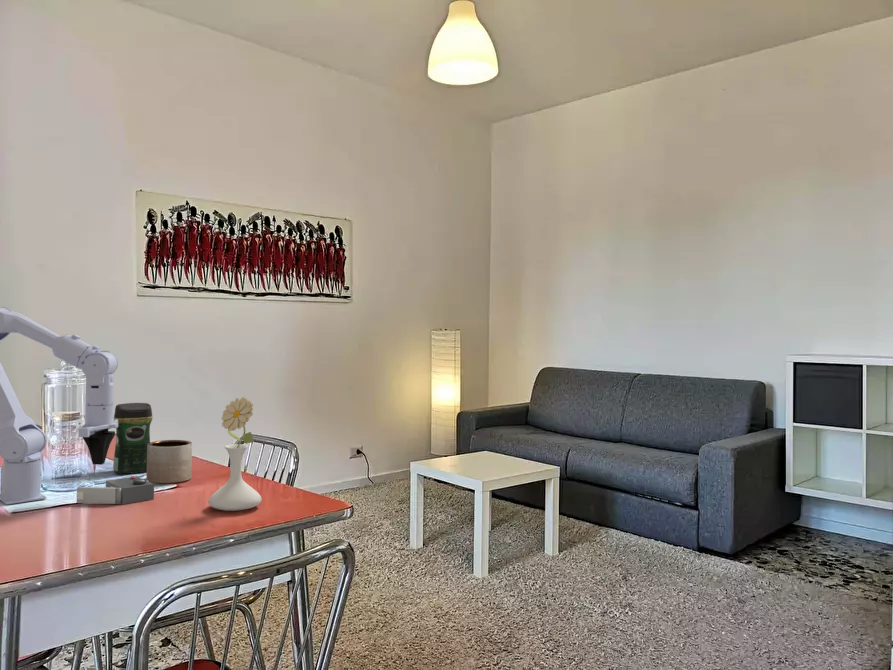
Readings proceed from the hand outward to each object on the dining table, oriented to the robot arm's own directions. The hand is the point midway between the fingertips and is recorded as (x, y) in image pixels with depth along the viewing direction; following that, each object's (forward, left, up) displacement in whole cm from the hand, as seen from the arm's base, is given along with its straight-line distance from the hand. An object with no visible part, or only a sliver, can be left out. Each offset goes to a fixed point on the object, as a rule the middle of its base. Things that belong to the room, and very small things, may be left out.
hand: (98, 463), depth 157 cm
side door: (+5, -1, -8) cm, 9 cm away
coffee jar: (-25, +17, -8) cm, 31 cm away
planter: (-9, +20, -8) cm, 24 cm away
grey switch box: (+3, +6, -8) cm, 10 cm away
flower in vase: (+27, +19, -8) cm, 35 cm away
